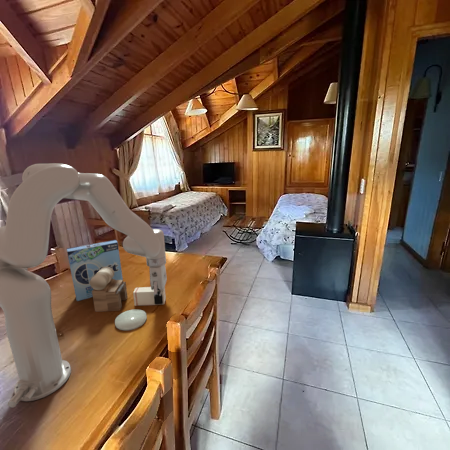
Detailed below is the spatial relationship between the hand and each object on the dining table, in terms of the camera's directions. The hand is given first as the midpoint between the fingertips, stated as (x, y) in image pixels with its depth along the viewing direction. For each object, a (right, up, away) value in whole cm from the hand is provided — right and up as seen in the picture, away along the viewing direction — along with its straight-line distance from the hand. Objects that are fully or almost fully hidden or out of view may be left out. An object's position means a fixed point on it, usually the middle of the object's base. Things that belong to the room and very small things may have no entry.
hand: (159, 300), depth 106 cm
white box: (-4, -1, 0) cm, 4 cm away
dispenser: (-20, -1, -1) cm, 20 cm away
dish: (-8, -4, -12) cm, 15 cm away
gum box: (-29, +1, +8) cm, 30 cm away
